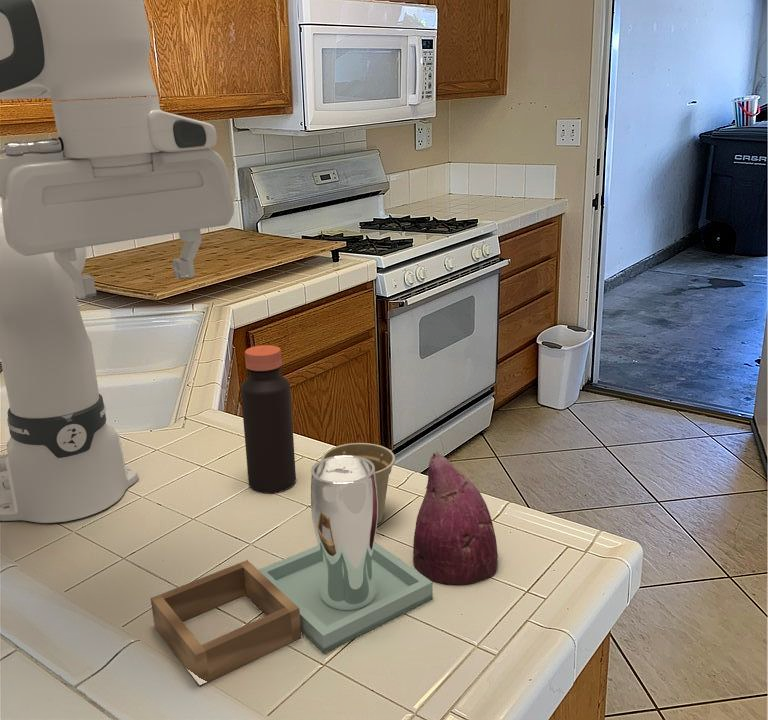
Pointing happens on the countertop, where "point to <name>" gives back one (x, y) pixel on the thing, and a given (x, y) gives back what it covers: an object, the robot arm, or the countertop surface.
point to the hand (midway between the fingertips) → (137, 286)
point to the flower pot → (378, 457)
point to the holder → (234, 645)
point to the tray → (336, 627)
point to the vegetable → (453, 529)
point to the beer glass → (345, 528)
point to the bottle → (267, 421)
